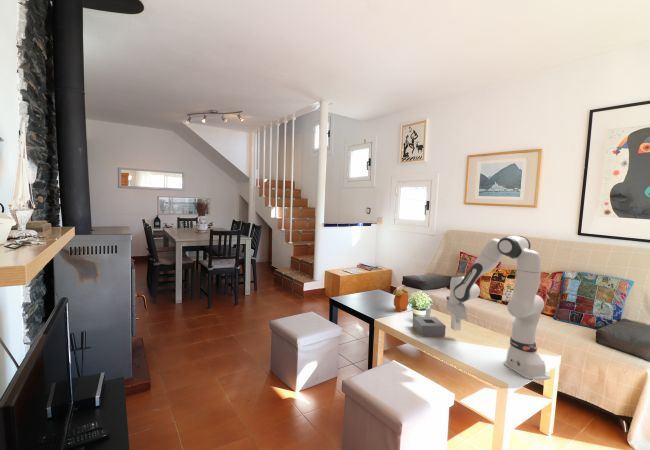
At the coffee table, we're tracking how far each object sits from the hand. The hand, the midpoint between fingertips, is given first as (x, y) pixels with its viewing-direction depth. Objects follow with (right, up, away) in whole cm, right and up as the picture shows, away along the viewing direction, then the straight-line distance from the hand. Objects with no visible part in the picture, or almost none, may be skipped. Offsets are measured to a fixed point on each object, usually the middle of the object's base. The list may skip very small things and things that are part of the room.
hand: (455, 321), depth 211 cm
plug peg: (0, -5, 0) cm, 5 cm away
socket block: (-15, -10, +10) cm, 20 cm away
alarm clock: (-24, -6, +51) cm, 56 cm away
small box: (-12, -9, +30) cm, 33 cm away
